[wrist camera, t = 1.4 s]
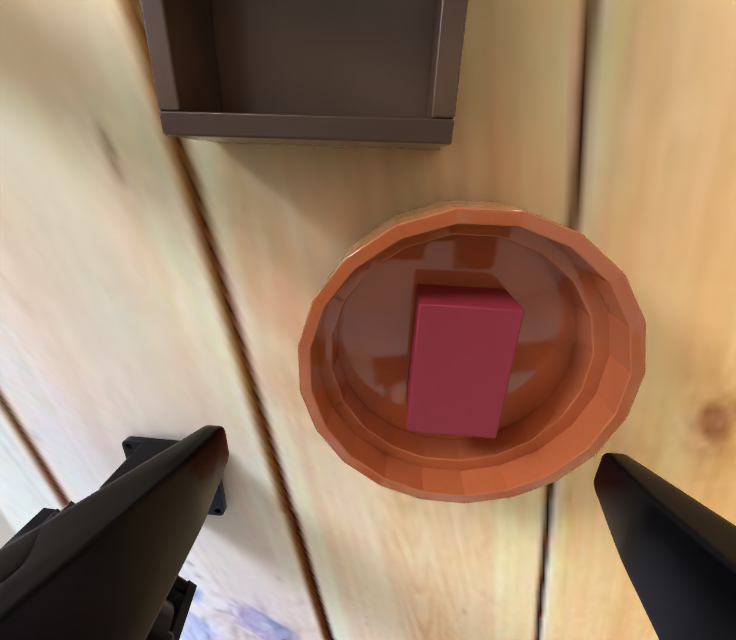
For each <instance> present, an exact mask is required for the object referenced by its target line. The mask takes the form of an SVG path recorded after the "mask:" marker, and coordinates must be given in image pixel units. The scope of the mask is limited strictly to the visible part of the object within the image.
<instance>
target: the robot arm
mask: <svg viewBox="0 0 736 640" xmlns="http://www.w3.org/2000/svg"><path fill="white" fill-rule="evenodd" d="M122 446H123V449H124V452H125V456H126V460H125V462H124V463H123V464H122V465H121V466H120V467H119V468H118V469H117V470H116V471H115V472H114V473H113V474H112V475H111V476H110V477H109V478H108V480H107V481H106V482H105V483H104V484H103V485H102V486H101V487H100V489H99V490H98V491H96V492H95V493H93V494H91V495H90V496H88V497H86V498H85V499H83V500H81V501H80V502H78V503H76V504H75V503H74V502H72V501H71V502H70V503H69V504H67V505H66V506H65V507H64V508H63V509H62V510H61V511H60V510H59V509H48V508H43V509H42V510H41V511H40V512H39V513H38V514H37V515H36V516H35V517H34V518H33V519H31V520H30V521H29V522H28V523H27V524H26V525H25V526H24V527H23V528H22V529H21V530H20V531H19V532H18V533H17V534H16V535H15V536H14V537H12V538H11V539H10V541H8V542H7V543H6V544H5V545H4V546H3V547H2V548H1V549H0V640H179V638H180V635H181V632H182V629H183V626H184V623H185V620H186V617H187V614H188V611H189V608H190V605H191V602H192V599H193V596H194V593H195V590H196V587H197V585H196V584H194V583H193V582H191V581H190V580H189V581H186V580H185V579H183V578H182V577H180V576H179V575H178V574H179V572H180V570H181V568H182V566H183V564H184V562H185V560H186V558H187V556H188V554H189V552H190V550H191V548H192V546H193V544H194V542H195V540H196V538H197V536H198V534H199V532H200V530H201V527H202V525H203V523H204V521H205V518H206V516H207V514H209V515H218V516H219V515H223V514H224V512H225V510H226V508H227V506H226V500H225V494H224V489H223V483H222V475H223V472H224V469H225V467H226V464H227V461H228V457H229V450H228V445H227V439H226V434H225V430H224V428H223V427H221V426H212V425H207V426H204V427H202V428H201V429H199V430H197V431H196V432H194V433H192V434H191V435H189V436H187V437H186V438H184V439H183V440H181V441H176V440H165V439H154V438H143V437H132V436H131V437H128V438H127V439H125V440H124V441H123V443H122ZM594 487H595V491H596V494H597V497H598V499H599V502H600V505H601V507H602V510H603V513H604V516H605V518H606V521H607V524H608V526H609V529H610V532H611V534H612V537H613V540H614V542H615V545H616V548H617V550H618V553H619V555H620V558H621V560H622V562H623V565H624V567H625V569H626V571H627V573H628V575H629V578H630V580H631V582H632V584H633V586H634V588H635V590H636V592H637V594H638V596H639V598H640V600H641V603H642V605H643V607H644V609H645V611H646V613H647V615H648V617H649V619H650V621H651V623H652V625H653V627H654V630H655V632H656V634H657V636H658V638H659V640H736V526H735V525H733V524H732V523H730V522H729V521H727V520H726V519H724V518H723V517H721V516H720V515H718V514H716V513H715V512H713V511H712V510H710V509H709V508H707V507H706V506H704V505H703V504H701V503H700V502H698V501H696V500H695V499H693V498H692V497H690V496H689V495H687V494H686V493H684V492H683V491H681V490H680V489H678V488H676V487H675V486H673V485H672V484H670V483H669V482H667V481H666V480H664V479H663V478H661V477H660V476H658V475H657V474H655V473H653V472H652V471H650V470H649V469H647V468H646V467H644V466H643V465H641V464H640V463H638V462H637V461H635V460H633V459H632V458H630V457H629V456H627V455H625V454H617V453H606V454H604V455H603V456H602V458H601V461H600V464H599V467H598V470H597V473H596V475H595V479H594Z"/></svg>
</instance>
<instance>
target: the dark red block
mask: <svg viewBox="0 0 736 640" xmlns="http://www.w3.org/2000/svg"><path fill="white" fill-rule="evenodd" d="M523 316H524V310H523V308H522V307H521V306H520V305H519V304H518V303H517V301H516V300H515V299H514V298H513V297H512V296H511V295H510V293H509V292H508V291H507V290H506V289H496V288H479V287H462V286H445V285H427V284H417V285H416V296H415V307H414V318H413V329H412V339H411V350H410V361H409V372H408V383H407V394H406V410H407V431H413V432H425V433H436V434H448V435H460V436H471V437H483V438H496V436H497V431H498V427H499V422H500V418H501V413H502V409H503V405H504V400H505V396H506V391H507V387H508V382H509V378H510V373H511V369H512V365H513V360H514V356H515V351H516V347H517V342H518V338H519V333H520V329H521V325H522V320H523Z"/></svg>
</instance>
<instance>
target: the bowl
mask: <svg viewBox="0 0 736 640" xmlns="http://www.w3.org/2000/svg"><path fill="white" fill-rule="evenodd" d="M417 284H427V285H445V286H462V287H479V288H496V289H506V290H507V291H508V292H509V293H510V295H511V296H512V297H513V298H514V299H515V300H516V301H517V303H518V304H519V305H520V306H521V307H522V308H523V310H524V316H523V320H522V325H521V329H520V333H519V338H518V342H517V347H516V351H515V356H514V360H513V365H512V369H511V373H510V378H509V382H508V387H507V391H506V396H505V400H504V405H503V409H502V413H501V418H500V422H499V427H498V431H497V436H496V438H483V437H471V436H460V435H448V434H436V433H425V432H413V431H407V410H406V394H407V383H408V372H409V361H410V350H411V339H412V329H413V318H414V307H415V296H416V285H417ZM645 331H646V323H645V320H644V317H643V315H642V313H641V310H640V308H639V306H638V303H637V301H636V299H635V296H634V294H633V292H632V290H631V287H630V285H629V283H628V280H627V278H626V276H625V274H624V273H623V272H622V271H621V270H620V269H619V268H618V267H617V266H616V265H615V264H614V263H613V262H612V261H611V260H610V259H609V258H608V257H606V256H605V255H604V254H603V253H602V252H601V251H600V250H599V249H598V248H597V247H596V246H595V245H594V244H593V243H592V242H590V241H589V240H588V239H587V238H586V237H585V236H584V235H583V234H581V233H579V232H577V231H574V230H572V229H569V228H567V227H564V226H562V225H559V224H557V223H554V222H552V221H549V220H547V219H544V218H542V217H539V216H537V215H534V214H532V213H529V212H527V211H524V210H521V209H518V208H515V207H512V206H510V205H507V204H504V203H499V202H481V201H458V200H448V201H446V200H445V201H442V202H438V203H435V204H431V205H428V206H424V207H421V208H417V209H414V210H410V211H407V212H403V213H400V214H397V215H395V216H394V217H392V218H391V219H389V220H388V221H386V222H385V223H383V224H382V225H380V226H379V227H377V228H376V229H374V230H373V231H371V232H370V233H368V234H367V235H365V236H364V237H362V238H361V239H359V240H358V241H357V242H356V243H354V245H353V246H352V247H351V248H350V250H349V251H348V252H347V254H346V255H345V256H344V258H343V259H342V260H341V261H340V263H339V264H338V265H337V267H336V268H335V269H334V271H333V272H332V273H331V275H330V276H329V277H328V279H327V280H326V282H325V283H324V285H323V286H322V288H321V289H320V290H319V292H318V293H317V295H316V296H315V298H314V299H313V301H312V304H311V307H310V310H309V313H308V316H307V319H306V323H305V326H304V329H303V332H302V335H301V338H300V342H299V345H298V359H299V379H300V391H301V394H302V397H303V399H304V402H305V404H306V406H307V409H308V411H309V413H310V416H311V418H312V421H313V423H314V425H315V428H316V430H317V431H318V432H319V434H320V435H321V436H322V437H323V438H324V439H325V441H326V442H327V443H328V444H329V445H330V446H331V448H332V449H333V450H334V451H335V452H336V453H337V454H338V456H339V457H340V458H341V459H342V460H343V461H344V462H345V463H346V464H348V465H350V466H351V467H353V468H354V469H356V470H357V471H359V472H360V473H362V474H363V475H365V476H366V477H368V478H369V479H371V480H373V481H374V482H376V483H377V484H379V485H381V486H384V487H387V488H389V489H392V490H395V491H398V492H401V493H404V494H407V495H410V496H413V497H416V498H419V499H425V500H435V501H446V502H456V503H472V502H480V501H488V500H496V499H504V498H510V497H514V496H517V495H520V494H522V493H525V492H528V491H531V490H533V489H536V488H539V487H542V486H544V485H547V484H550V483H553V482H555V481H557V480H559V479H560V478H562V477H563V476H565V475H566V474H568V473H569V472H571V471H572V470H574V469H575V468H576V467H578V466H579V465H581V464H582V463H584V462H585V461H587V460H588V459H590V458H591V457H593V456H594V455H595V454H596V453H597V452H598V451H599V450H600V449H601V448H602V446H603V445H604V444H605V443H606V442H607V441H608V439H609V438H610V437H611V436H612V435H613V433H614V432H615V431H616V430H617V429H618V428H619V426H620V425H621V424H622V423H623V422H624V420H625V419H626V417H628V414H629V412H630V409H631V407H632V404H633V402H634V399H635V397H636V394H637V392H638V389H639V387H640V384H641V382H642V379H643V377H644V374H645Z"/></svg>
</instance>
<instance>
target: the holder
mask: <svg viewBox="0 0 736 640" xmlns="http://www.w3.org/2000/svg"><path fill="white" fill-rule="evenodd" d="M140 2H141V8H142V14H143V19H144V25H145V31H146V37H147V43H148V48H149V54H150V60H151V66H152V71H153V77H154V83H155V89H156V95H157V100H158V106H159V109H160V110H161V111H160V118H161V123H162V129H163V133H164V135H167V136H174V137H181V138H188V139H195V140H202V141H209V142H217V143H247V144H278V145H308V146H338V147H368V148H399V149H429V150H440V149H441V148H443V147H445V146H447V145H449V144H451V142H452V135H453V126H454V119H453V118H454V117H455V109H456V101H457V92H458V83H459V74H460V65H461V57H462V48H463V39H464V30H465V22H466V13H467V4H468V0H140Z"/></svg>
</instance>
